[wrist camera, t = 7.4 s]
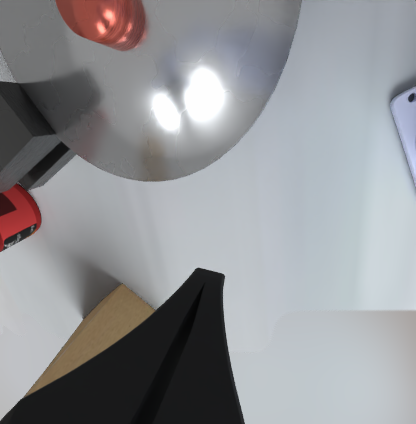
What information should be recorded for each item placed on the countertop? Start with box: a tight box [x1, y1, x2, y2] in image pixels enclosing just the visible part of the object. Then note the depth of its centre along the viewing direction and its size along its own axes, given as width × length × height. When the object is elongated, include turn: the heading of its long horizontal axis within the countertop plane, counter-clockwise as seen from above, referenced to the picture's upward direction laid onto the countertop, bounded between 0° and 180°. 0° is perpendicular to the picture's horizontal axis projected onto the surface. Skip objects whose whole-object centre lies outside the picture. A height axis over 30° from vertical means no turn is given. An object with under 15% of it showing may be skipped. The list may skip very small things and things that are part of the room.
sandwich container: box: [23, 284, 155, 398], centre depth 27 cm, size 9×15×15 cm, turn 138°
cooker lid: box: [0, 0, 302, 193], centre depth 10 cm, size 23×15×3 cm, turn 121°
